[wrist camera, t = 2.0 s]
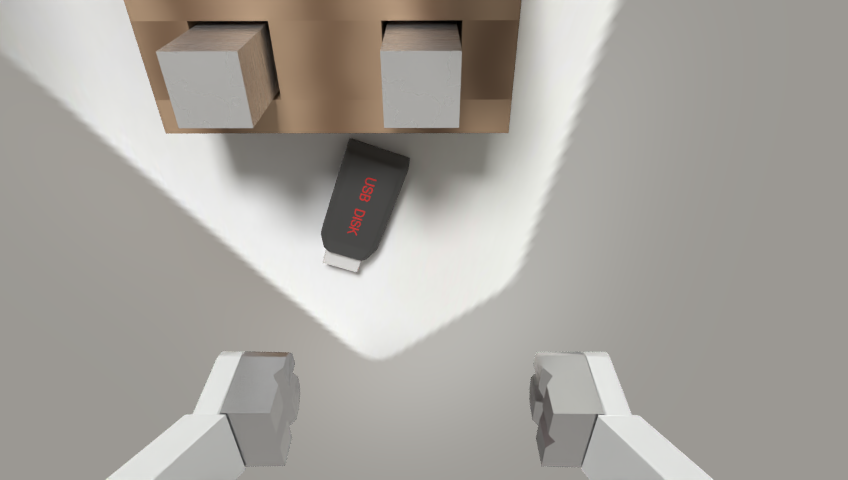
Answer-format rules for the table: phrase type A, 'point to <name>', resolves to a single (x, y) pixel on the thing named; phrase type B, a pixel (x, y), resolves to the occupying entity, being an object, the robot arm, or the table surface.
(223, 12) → the walnut block
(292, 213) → the table surface
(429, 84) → the peg right
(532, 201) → the table surface
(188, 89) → the peg left
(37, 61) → the table surface
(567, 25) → the table surface
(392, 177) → the usb drive
